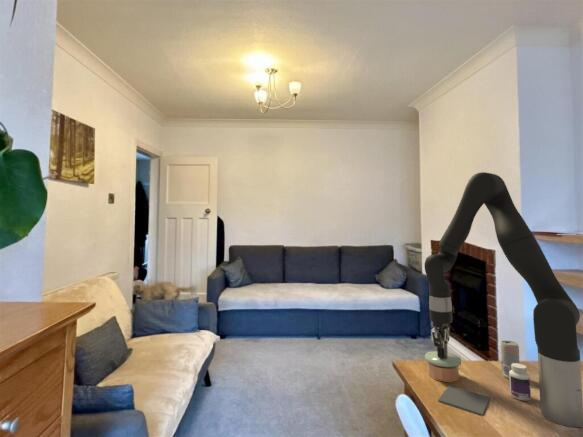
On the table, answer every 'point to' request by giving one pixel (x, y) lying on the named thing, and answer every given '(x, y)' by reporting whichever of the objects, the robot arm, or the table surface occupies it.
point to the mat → (465, 399)
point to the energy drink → (509, 356)
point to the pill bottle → (519, 382)
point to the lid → (447, 361)
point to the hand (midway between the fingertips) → (442, 355)
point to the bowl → (443, 373)
